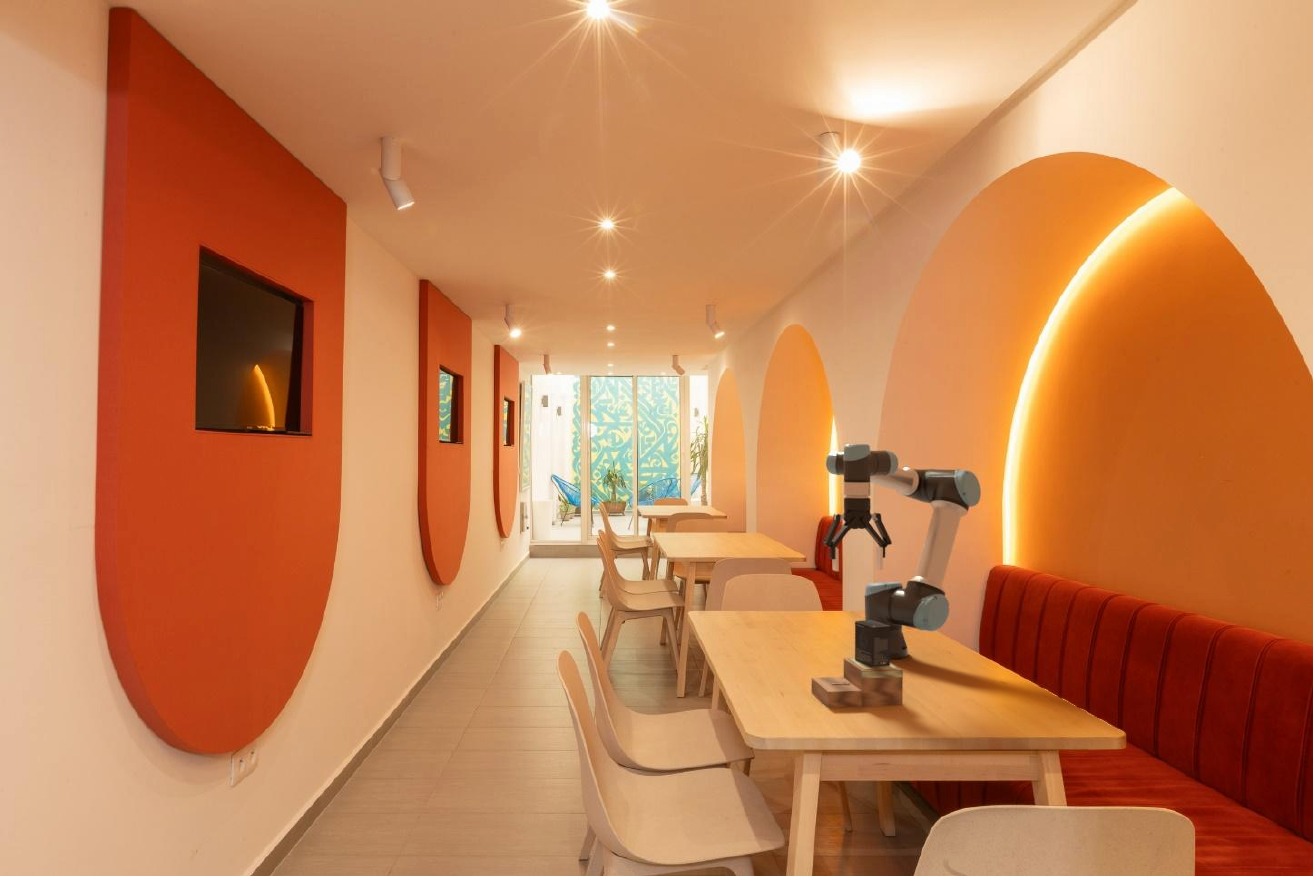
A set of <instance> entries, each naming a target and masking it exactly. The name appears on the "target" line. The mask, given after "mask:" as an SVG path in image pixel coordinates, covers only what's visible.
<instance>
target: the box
mask: <svg viewBox="0 0 1313 876" xmlns="http://www.w3.org/2000/svg"><path fill="white" fill-rule="evenodd" d="M854 658H855V660H856V661H859V662H861V663H864V664H866V665H869V666H871V667H883V666H890V663H891V659H890V626H889V625H886V624H883V623H880V622H876V621H873V620H865V619H864V620H855V621H854Z"/></svg>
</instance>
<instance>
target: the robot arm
mask: <svg viewBox="0 0 1313 876" xmlns="http://www.w3.org/2000/svg"><path fill="white" fill-rule="evenodd" d="M825 467H826V470H827V471H828V472H829V473H830V475H837V476H840V475H841V476H843V496H845V497H844V498H843V514H840V513H833V516H832V522H831V524H830V526H829V528H828V531H827V533H826V535H825V537H824V539H823V542H822V545H823V546H825V547H828V549H829V551H828V553H829V554H828V555H829V559H830V560H832V561H831V562H832V563H831V564H832V571H834V572H839V571H840V569H839V568H840V567H839V565H840V564H839V563H840V562H839V561H840V560H839V558H840V557H839V555H840V554H839V551H840V550H839V548H838V547H837V546H838V545H839V544H840V542H841V541H842V540H843V539H844V538H845V537H846V535H847V534H848V532H849V531H850V530H858V529H859V530H860V529H861V530H865V531H867V533H868V534H869V535H870V536H871V537H872V538H873V541H874V542H876V544H877V545H878V546H875V563H876V564H875V568H876V570H880V571H883V570H884V561H883V559H885V558H886V548H887V547H888V546H889V545H892V543H893V541H892V540H891V538H890V535H889V533H888V531H887V529H886V527H885V525H884V523H883V521H882V515H881V513H878V512H874V513H871V509H872V508H871V507H872V506H871V498H870V496H871V484H874V485H877V486H880V487H884V488H887V489H892V490H895V491H896V492H897V493H898V494H899V495H901V496H903V497H907V498H909V499H912V500H913V499H914V500H917V501H919V502H922V503H926V504H929V505H930V506H931V508H932V509H933V511H932V513H931V518H930V521H929V524H928V525H929V526H928V527H927V528H928V529H927V531H926V536H925V538H924V541H923V546H922V549H921V553H920V556H919V559H918V563H917V566H916V570H915V573H914V577H913V578H910V579H908V580H907V582H906V583H907V584H906V586H905V588H904V585H903V583H902V582H900V581H879V582H878V581H876V582H871V583H868V584H867V585H866V586H865V594H864V620H873V621H876V622H880V623H883V624H886V625H889V626H890V660H897V659H904V658H906V657H908V655H909V654H908V653H909V652H908V649H909V648H908V645H907V642H906V639H905V636H904V633H903V627H908V628H912V629H917V630H919V631H926V632H927V631H928V632H936V631H938V630H939V629H941V628H942V627H943V626H944V625H945V624H946V622H947V620H948V617H949V614H950V607H949V606H950V603H949V602H950V601H949V600H948V598H947V597H946V590H945V589H944V587H943V584H944V580H945V577H946V573H947V569H948V566H949V563H950V562H949V561H950V559H951V555H952V551H953V548H954V544H955V541H956V538H957V533H958V530H959V527H960V523H961V520H962V517H965V516H967V515H968V512H969V509H970V508H971V507H975V506H977V505H978V504H979V502H980V500H981V495H982V494H981V491H982V490H981V485H980V482H979V479H978V477H977V476H976V474H975V473H974V472H972V471H971V470H967V469H966V470H965V469H960V468H959V469H957V468H956V469H937V468H936V469H934V468H930V469H929V468H928V469H916V468H912V467H904V468H903V467H899V458H898V457H897V455H896V454H895V453H894V452H893V451H889V450H871V445H869V444H865V443H853V444H852V443H850V444H849V443H848V444H845V445H844V447H843V450H841V449H840V450H836V451H835V450H833V451H831V452H829V453H828V455H827V456H826V460H825ZM842 520H843V521H844V523H843V525H842V526H841V528H840V530H839V531H838V532H837V530H838V529H839V526H840V524H841V522H842ZM871 520H872V521H873V522H874V523H875V526H876V528H877V530H878V532H879V533H877V531H876V530H875V529H874V527H873V526H872V524H871V523H870V521H871ZM835 534H836V535H835ZM879 534H880V535H879Z"/></svg>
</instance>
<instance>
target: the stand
mask: <svg viewBox="0 0 1313 876" xmlns="http://www.w3.org/2000/svg"><path fill="white" fill-rule="evenodd" d="M903 677H904V670H903V669H902V668H900V667H899V666H897V665H895V664H893V663H892V662H890V666H883V667H871V666H869V665H866V664H864V663H861V662H859V661H856V660H855V657H852V658H843V676H833V677H832V676H831V677H829V676H828V677H811V694H812V695H813V696H815V698H816V699H818V701H820V702H821V703H822V704H823V705H825V707H826V708H829V709H830V708H834V709H835V708H856V707H857V708H858V707H859V708H861V707H863V708H865V707H889V706H890V707H891V706H895V707H896V706H903V693H904V692H903V690H904V689H903V688H904V687H903V686H904V683H903Z"/></svg>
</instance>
